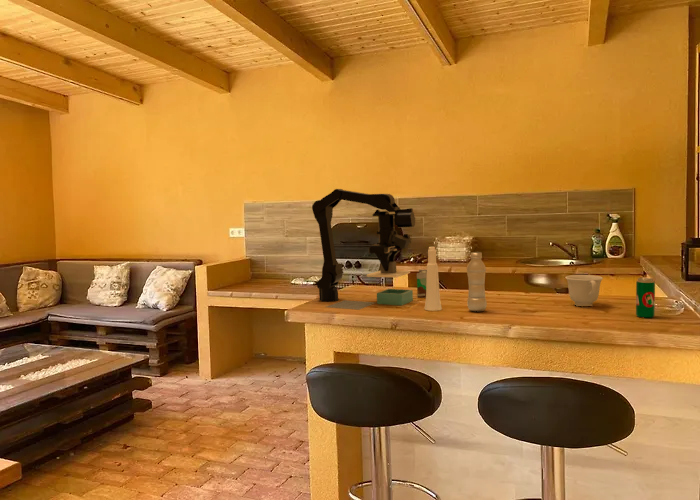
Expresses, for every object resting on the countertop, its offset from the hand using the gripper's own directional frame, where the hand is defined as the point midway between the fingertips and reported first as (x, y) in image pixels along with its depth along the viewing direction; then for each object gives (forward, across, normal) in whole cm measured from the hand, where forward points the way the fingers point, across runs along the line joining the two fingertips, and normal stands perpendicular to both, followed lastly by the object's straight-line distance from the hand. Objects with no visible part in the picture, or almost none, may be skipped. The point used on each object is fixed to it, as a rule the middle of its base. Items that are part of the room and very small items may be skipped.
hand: (388, 270), depth 195 cm
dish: (+13, +2, -1) cm, 13 cm away
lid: (+2, 0, 0) cm, 2 cm away
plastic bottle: (+14, +1, -32) cm, 35 cm away
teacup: (+14, +22, -64) cm, 69 cm away
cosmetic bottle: (+14, -1, -17) cm, 22 cm away
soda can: (+15, +11, -82) cm, 84 cm away
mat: (+13, -9, +12) cm, 19 cm away
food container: (+13, +23, -5) cm, 27 cm away
